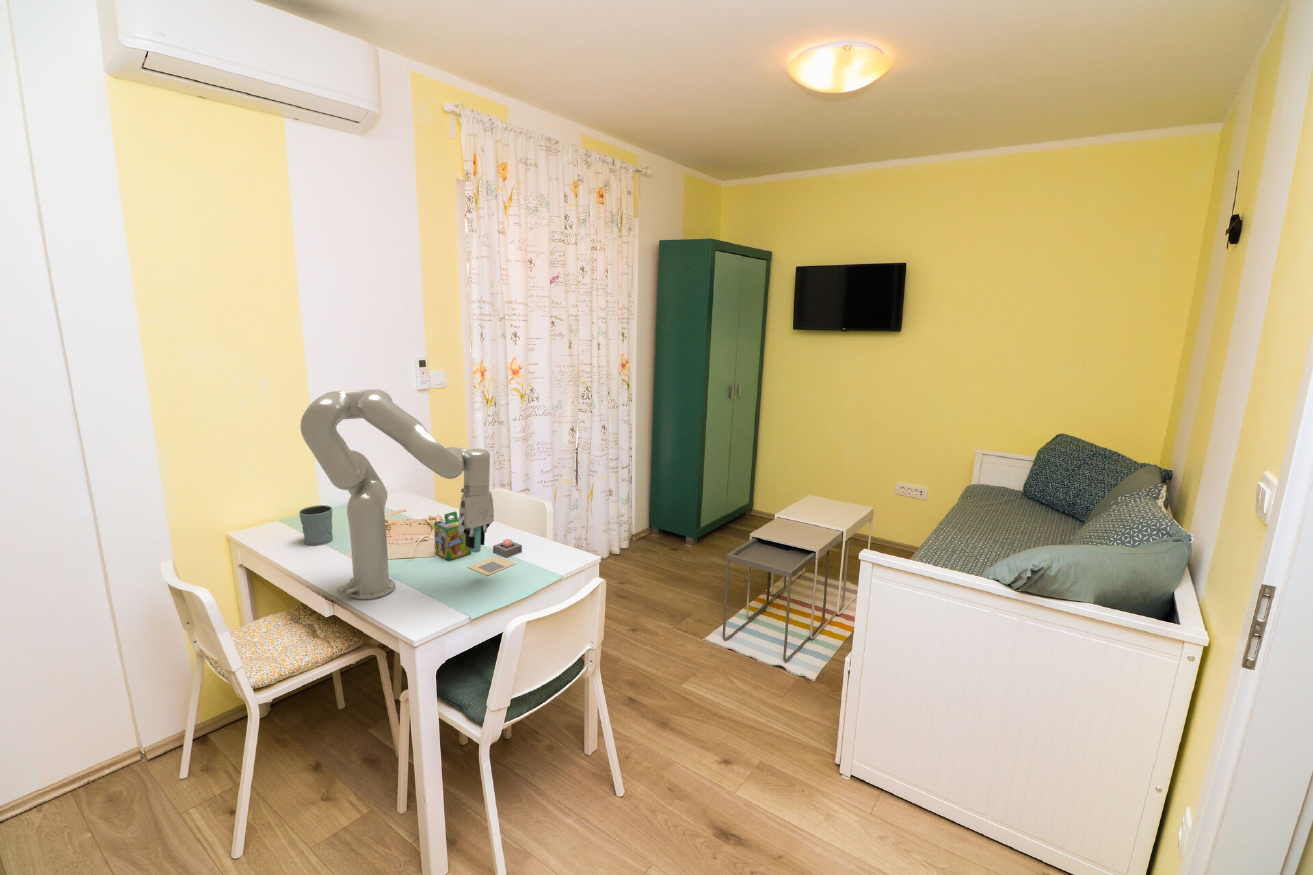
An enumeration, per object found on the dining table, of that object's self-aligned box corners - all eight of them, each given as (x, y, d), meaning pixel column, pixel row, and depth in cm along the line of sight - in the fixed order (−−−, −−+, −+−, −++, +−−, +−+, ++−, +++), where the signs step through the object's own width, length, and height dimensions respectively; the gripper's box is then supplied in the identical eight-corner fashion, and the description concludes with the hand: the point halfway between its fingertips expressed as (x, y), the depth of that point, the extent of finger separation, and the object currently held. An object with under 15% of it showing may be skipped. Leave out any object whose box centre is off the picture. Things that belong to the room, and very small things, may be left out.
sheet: (487, 575, 188) (487, 575, 188) (467, 567, 194) (467, 566, 194) (515, 564, 198) (515, 563, 198) (496, 556, 203) (496, 555, 203)
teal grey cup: (340, 537, 215) (338, 506, 212) (322, 547, 205) (319, 515, 202) (314, 535, 216) (311, 504, 213) (295, 545, 206) (292, 513, 203)
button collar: (506, 557, 203) (506, 550, 202) (493, 552, 206) (492, 545, 206) (521, 551, 208) (521, 544, 208) (508, 546, 212) (508, 540, 212)
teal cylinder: (474, 553, 181) (474, 525, 179) (467, 550, 183) (467, 523, 181) (483, 550, 184) (483, 523, 182) (476, 547, 186) (476, 520, 184)
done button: (507, 550, 205) (506, 543, 204) (501, 547, 207) (501, 540, 206) (513, 547, 207) (513, 540, 207) (507, 545, 209) (507, 538, 209)
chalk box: (448, 561, 198) (446, 519, 195) (434, 553, 204) (432, 513, 201) (472, 553, 205) (471, 513, 202) (458, 546, 211) (456, 507, 208)
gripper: (461, 497, 171) (460, 556, 174) (505, 487, 184) (504, 542, 188) (445, 491, 175) (445, 549, 179) (490, 482, 188) (488, 536, 192)
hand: (475, 545), depth 183 cm, fingers closed on teal cylinder, 3 cm apart
